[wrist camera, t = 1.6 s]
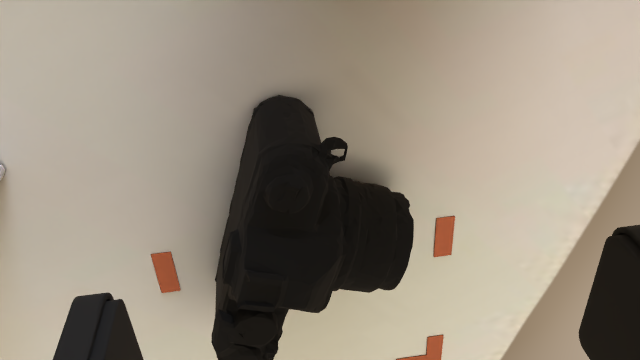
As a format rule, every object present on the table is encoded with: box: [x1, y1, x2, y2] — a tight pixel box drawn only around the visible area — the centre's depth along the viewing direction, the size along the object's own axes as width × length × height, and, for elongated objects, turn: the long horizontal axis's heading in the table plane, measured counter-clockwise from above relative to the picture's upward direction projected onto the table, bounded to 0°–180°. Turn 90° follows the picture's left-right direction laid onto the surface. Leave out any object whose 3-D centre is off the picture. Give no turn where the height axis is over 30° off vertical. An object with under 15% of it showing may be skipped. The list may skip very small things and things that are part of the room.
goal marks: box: [151, 216, 455, 360], centre depth 39 cm, size 14×19×1 cm
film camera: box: [212, 95, 414, 360], centre depth 30 cm, size 15×10×9 cm, turn 164°
